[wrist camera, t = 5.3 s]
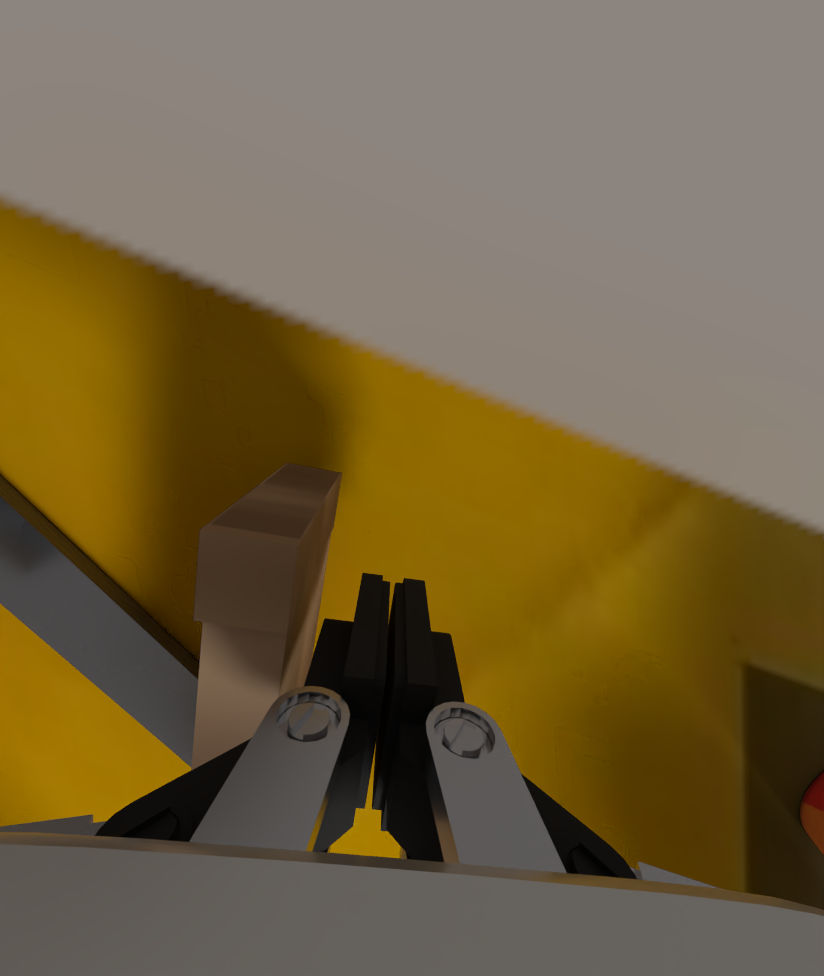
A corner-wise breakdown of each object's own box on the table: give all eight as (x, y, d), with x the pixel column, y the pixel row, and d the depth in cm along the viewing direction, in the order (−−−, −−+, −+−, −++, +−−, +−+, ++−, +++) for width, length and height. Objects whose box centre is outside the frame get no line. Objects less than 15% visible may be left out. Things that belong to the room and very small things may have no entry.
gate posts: (321, 777, 17) (264, 1068, 10) (257, 818, 18) (159, 1126, 10) (-45, 433, 13) (-581, 501, 6) (-115, 498, 14) (-691, 633, 6)
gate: (294, 775, 16) (238, 992, 10) (249, 770, 16) (167, 987, 10) (341, 472, 13) (298, 546, 7) (286, 462, 13) (199, 529, 7)
